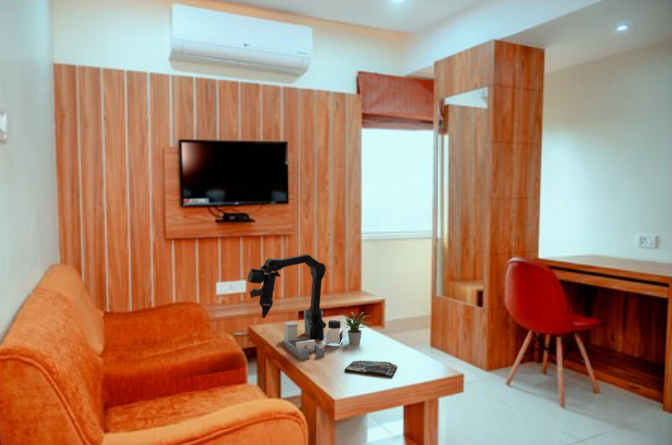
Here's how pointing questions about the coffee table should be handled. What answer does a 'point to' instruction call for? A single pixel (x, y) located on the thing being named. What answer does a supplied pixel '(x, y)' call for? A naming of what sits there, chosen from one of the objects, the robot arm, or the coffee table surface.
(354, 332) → the house plant
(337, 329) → the medicine bottle
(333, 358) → the coffee table surface
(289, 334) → the sage jar
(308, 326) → the drinking glass
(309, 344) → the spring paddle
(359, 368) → the terrain model
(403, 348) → the coffee table surface
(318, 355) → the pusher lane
